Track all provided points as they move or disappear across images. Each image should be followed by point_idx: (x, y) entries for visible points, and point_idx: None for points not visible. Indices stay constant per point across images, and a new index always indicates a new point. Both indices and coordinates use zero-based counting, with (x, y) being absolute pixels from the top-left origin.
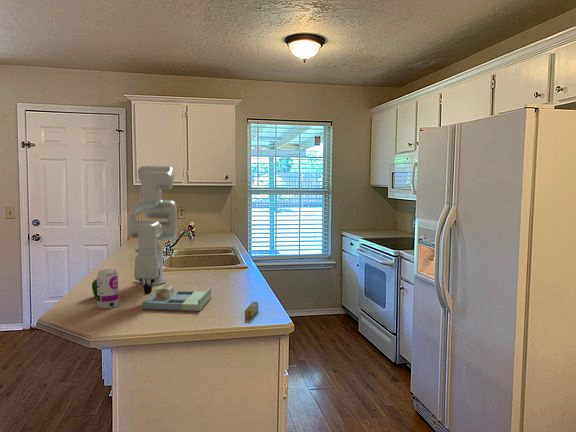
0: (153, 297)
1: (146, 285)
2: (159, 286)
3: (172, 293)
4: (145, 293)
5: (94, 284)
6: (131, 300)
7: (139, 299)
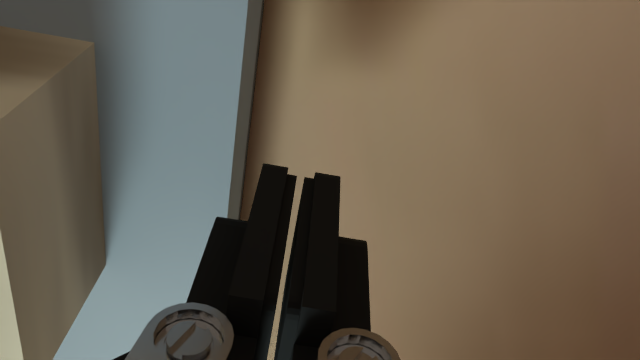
0: (155, 91)
1: (290, 332)
2: (9, 338)
3: None
4: (320, 179)
5: None
6: (556, 251)
7: (449, 282)
